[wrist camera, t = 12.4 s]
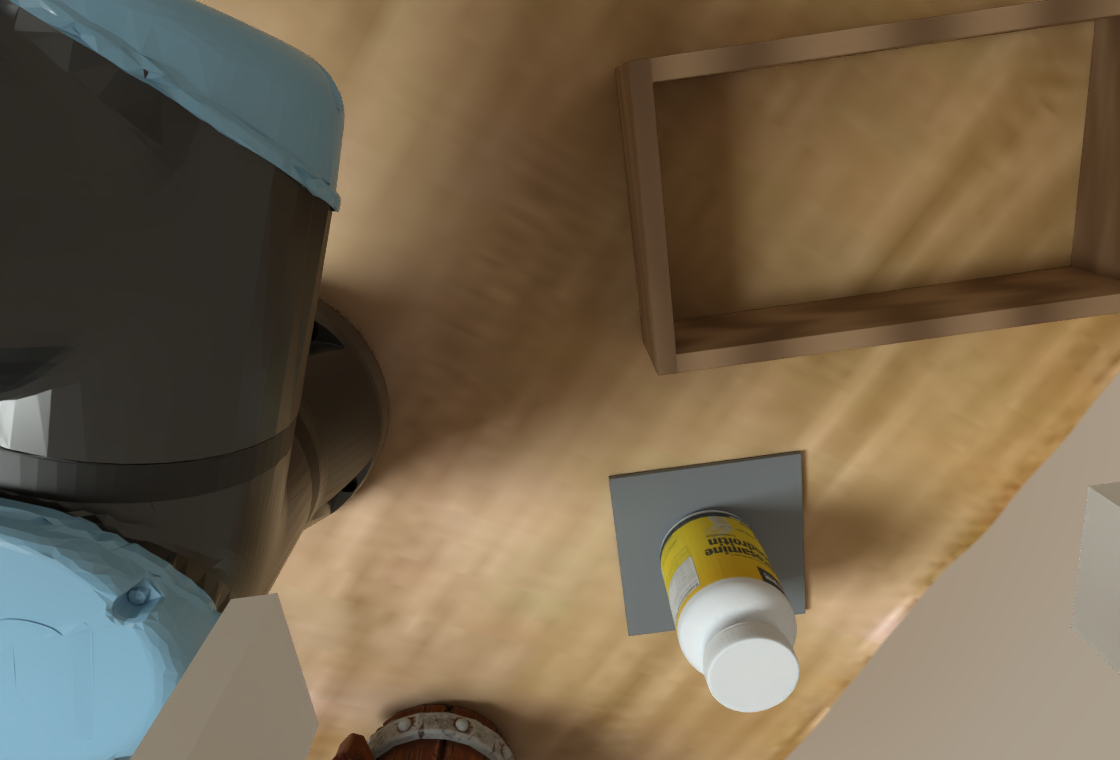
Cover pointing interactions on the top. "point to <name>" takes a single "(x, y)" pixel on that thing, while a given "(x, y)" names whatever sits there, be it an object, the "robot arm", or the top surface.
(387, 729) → the mug
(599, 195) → the top surface
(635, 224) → the box frame
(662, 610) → the slate mat
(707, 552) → the pill bottle
